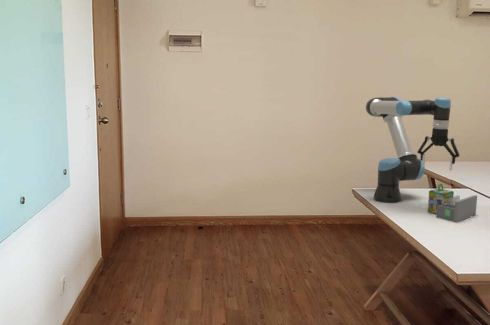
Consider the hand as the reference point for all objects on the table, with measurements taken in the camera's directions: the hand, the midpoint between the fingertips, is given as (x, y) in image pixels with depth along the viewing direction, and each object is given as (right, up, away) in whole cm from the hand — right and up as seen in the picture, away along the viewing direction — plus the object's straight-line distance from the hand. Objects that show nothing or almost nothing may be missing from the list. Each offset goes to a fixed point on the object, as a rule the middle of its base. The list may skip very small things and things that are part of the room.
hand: (436, 168), depth 241 cm
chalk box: (0, -23, -3) cm, 23 cm away
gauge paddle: (+3, -23, -9) cm, 25 cm away
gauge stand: (+6, -24, -10) cm, 27 cm away
